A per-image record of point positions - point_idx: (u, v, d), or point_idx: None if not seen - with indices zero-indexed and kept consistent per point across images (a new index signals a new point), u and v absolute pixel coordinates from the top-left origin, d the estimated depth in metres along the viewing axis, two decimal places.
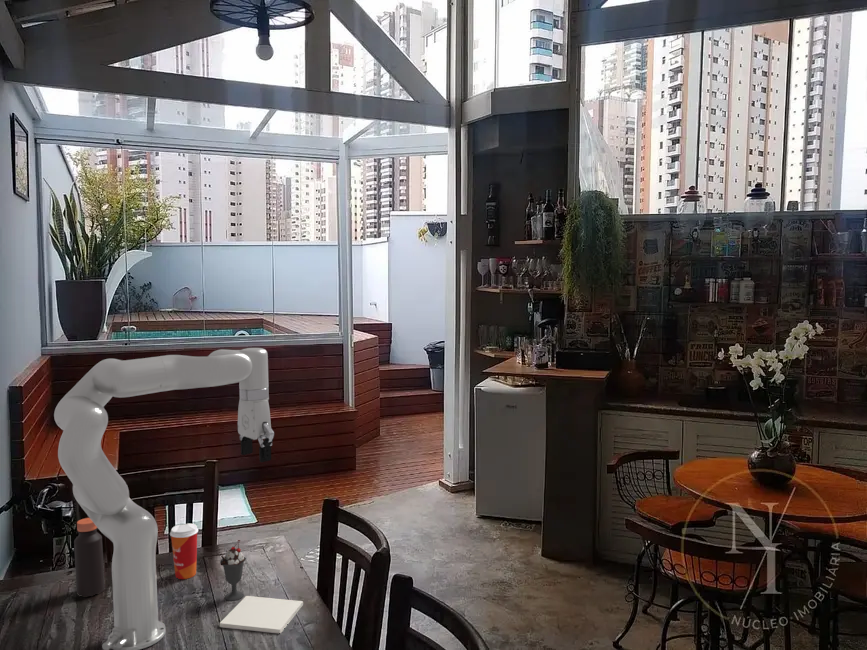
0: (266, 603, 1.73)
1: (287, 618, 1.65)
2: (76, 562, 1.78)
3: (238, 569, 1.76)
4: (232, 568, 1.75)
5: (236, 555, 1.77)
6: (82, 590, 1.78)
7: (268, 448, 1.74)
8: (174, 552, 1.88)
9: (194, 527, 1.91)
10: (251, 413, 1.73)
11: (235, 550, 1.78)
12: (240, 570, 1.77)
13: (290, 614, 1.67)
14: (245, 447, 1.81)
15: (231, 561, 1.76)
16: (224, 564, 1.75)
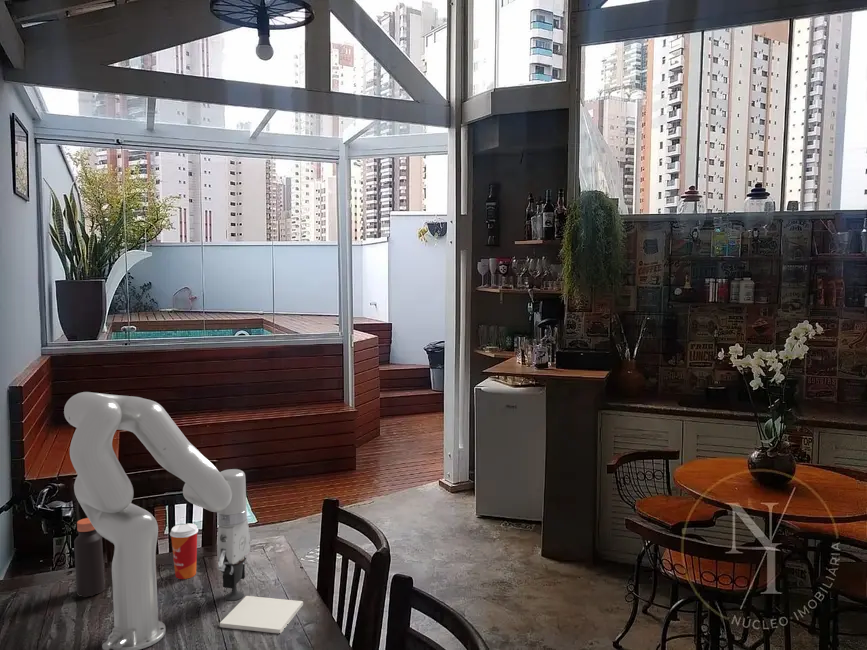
0: (266, 603, 1.73)
1: (287, 618, 1.65)
2: (76, 562, 1.78)
3: (238, 569, 1.76)
4: None
5: None
6: (82, 590, 1.78)
7: None
8: (174, 552, 1.88)
9: (194, 527, 1.91)
10: (247, 528, 1.80)
11: None
12: (240, 570, 1.77)
13: (290, 614, 1.67)
14: None
15: None
16: None
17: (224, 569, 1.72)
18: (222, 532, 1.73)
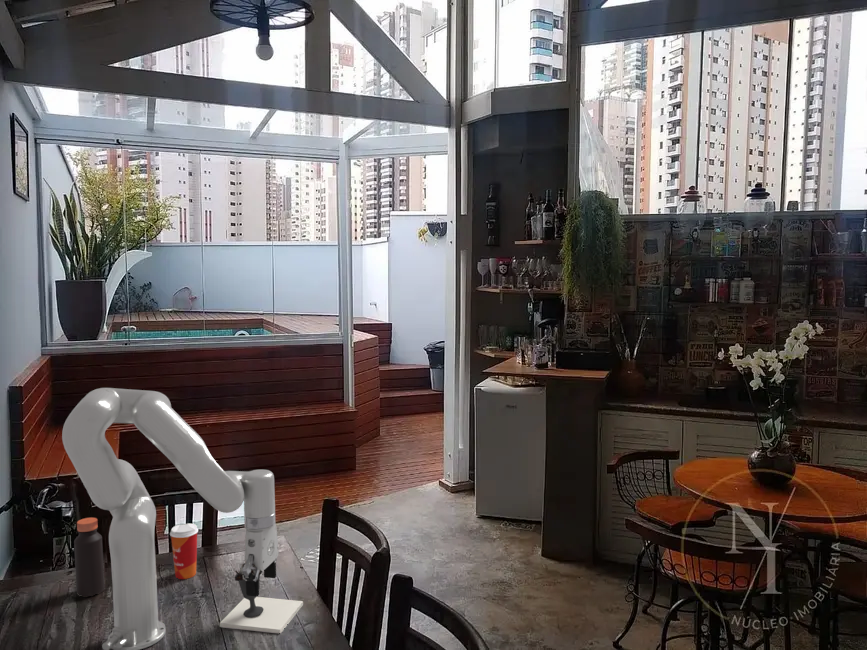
0: (266, 603, 1.73)
1: (287, 618, 1.65)
2: (76, 562, 1.78)
3: None
4: None
5: None
6: (82, 590, 1.78)
7: None
8: (174, 552, 1.88)
9: (194, 527, 1.91)
10: (275, 532, 1.69)
11: None
12: None
13: (290, 614, 1.67)
14: None
15: None
16: (239, 579, 1.64)
17: (248, 574, 1.60)
18: (250, 536, 1.62)
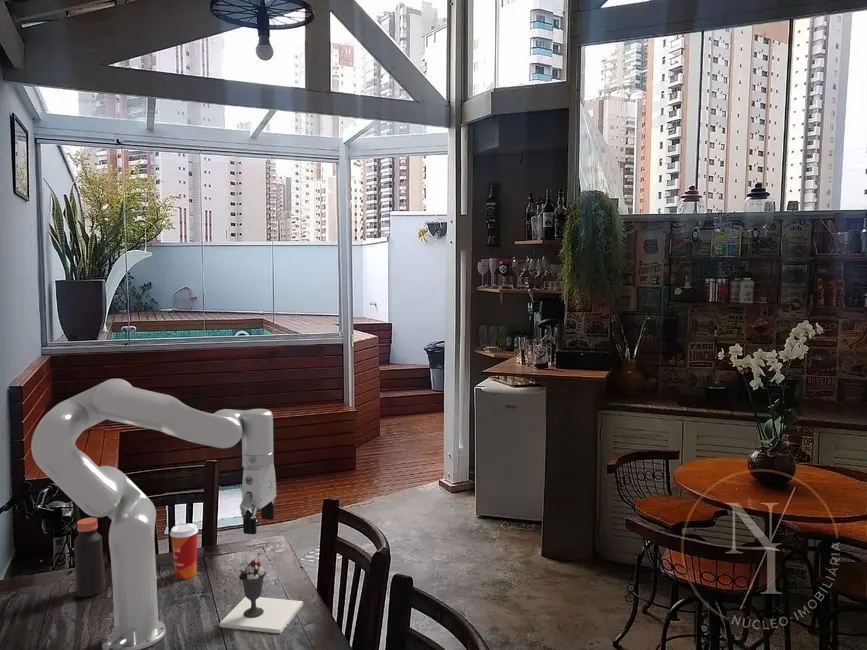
0: (266, 603, 1.73)
1: (287, 618, 1.65)
2: (76, 562, 1.78)
3: (257, 584, 1.65)
4: (252, 583, 1.65)
5: (256, 569, 1.66)
6: (82, 590, 1.78)
7: None
8: (174, 552, 1.88)
9: (194, 527, 1.91)
10: (273, 473, 1.68)
11: (255, 564, 1.67)
12: (260, 585, 1.66)
13: (290, 614, 1.67)
14: None
15: (250, 576, 1.65)
16: (243, 579, 1.65)
17: (246, 510, 1.58)
18: (248, 474, 1.61)
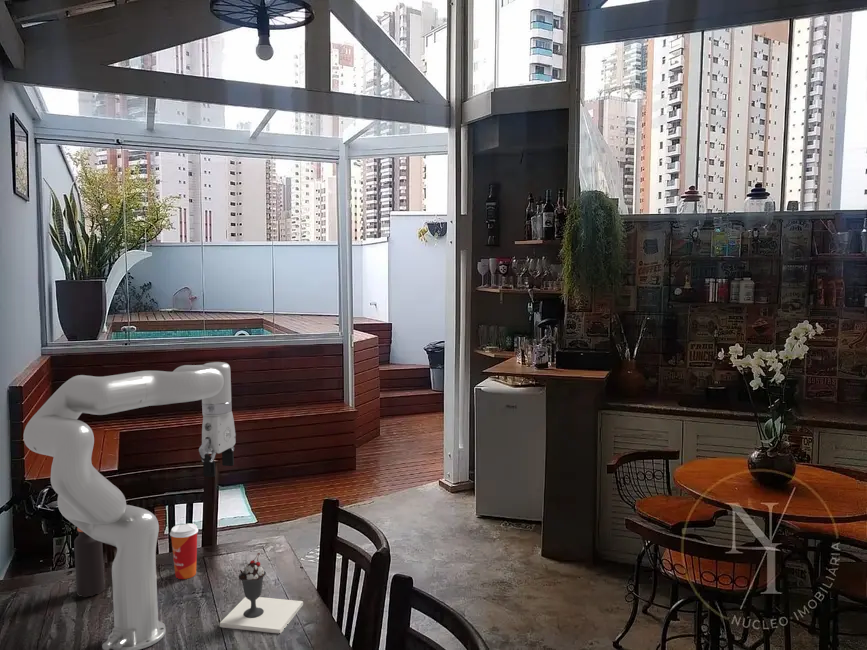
0: (266, 603, 1.73)
1: (287, 618, 1.65)
2: (76, 562, 1.78)
3: (257, 584, 1.65)
4: (251, 583, 1.65)
5: (255, 569, 1.66)
6: (82, 590, 1.78)
7: None
8: (174, 552, 1.88)
9: (194, 527, 1.91)
10: (232, 421, 1.81)
11: (254, 564, 1.67)
12: (259, 585, 1.66)
13: (290, 614, 1.67)
14: None
15: (250, 576, 1.65)
16: (242, 579, 1.65)
17: (204, 454, 1.72)
18: (207, 421, 1.74)
